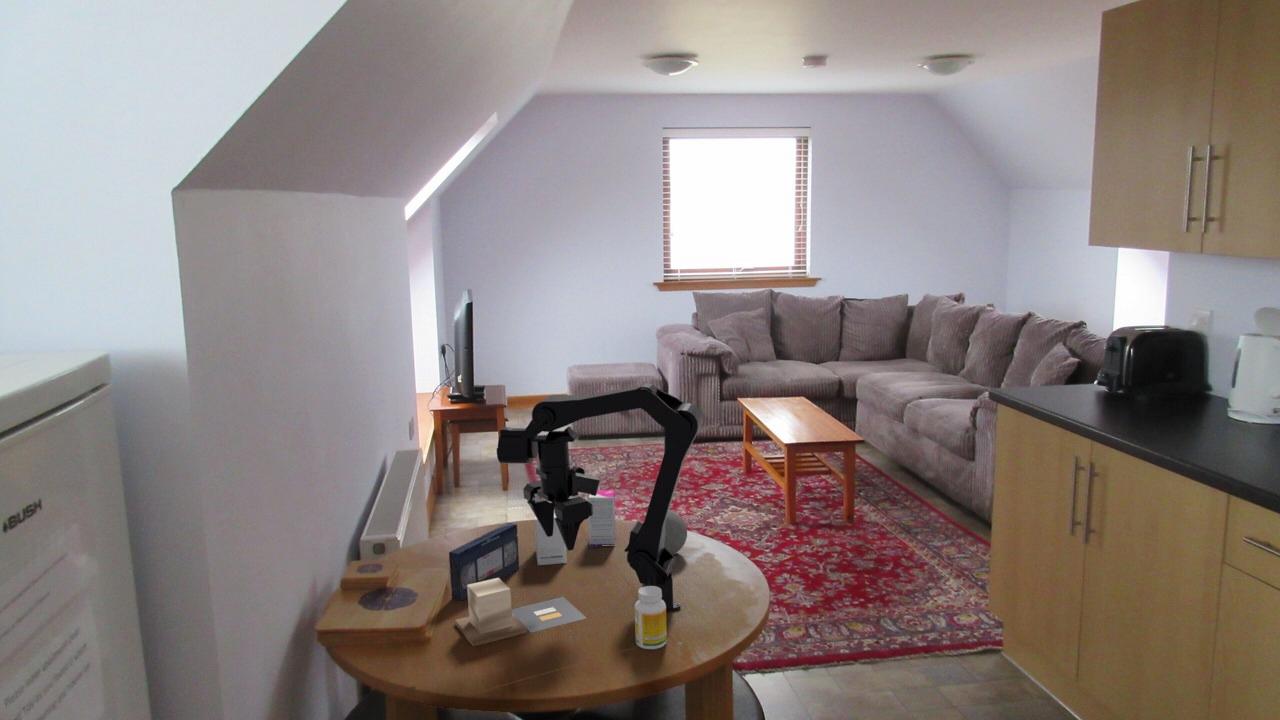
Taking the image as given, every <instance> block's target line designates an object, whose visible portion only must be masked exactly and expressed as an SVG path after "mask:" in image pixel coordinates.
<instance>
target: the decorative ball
mask: <svg viewBox="0 0 1280 720" xmlns="http://www.w3.org/2000/svg"><path fill="white" fill-rule="evenodd" d="M642 523H644V520H643V522H642ZM687 528H688V527H687V524H686V522H685V520H684V519H683V517H682V516H681V515H680V514H679V513H677V512H676V511H674V510H671V509H669V512H668V516H667V519H666V523H665V543H664V547H665V548H666V549H667V550H668V551H669V552H670V553H672V554H673V555H675V554H676V553H677V554H678V552H679V551H681V549H682V548H683V547H684V546H685V543H687V538H688V529H687Z"/></svg>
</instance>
